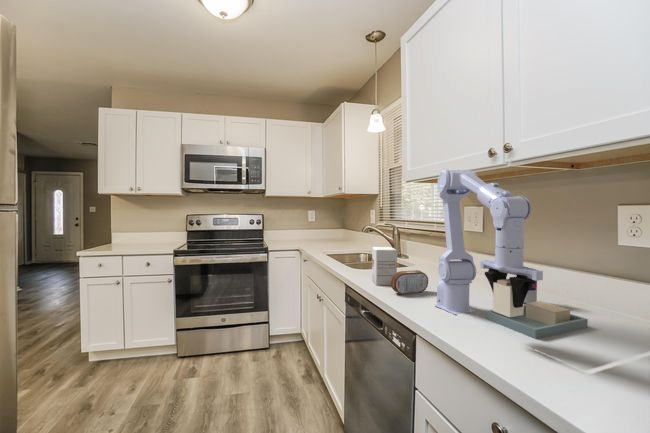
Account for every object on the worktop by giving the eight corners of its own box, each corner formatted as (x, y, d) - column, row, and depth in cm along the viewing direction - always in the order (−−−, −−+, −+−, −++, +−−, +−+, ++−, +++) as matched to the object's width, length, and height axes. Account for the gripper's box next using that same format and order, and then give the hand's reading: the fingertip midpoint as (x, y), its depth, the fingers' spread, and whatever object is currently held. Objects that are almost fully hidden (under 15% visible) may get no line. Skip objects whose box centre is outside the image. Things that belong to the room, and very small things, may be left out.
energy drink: (538, 308, 96) (539, 270, 96) (519, 306, 98) (519, 269, 98) (533, 303, 101) (534, 267, 101) (515, 301, 103) (516, 266, 103)
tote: (485, 320, 86) (486, 311, 85) (534, 312, 92) (534, 303, 92) (535, 341, 72) (535, 329, 72) (587, 329, 79) (587, 319, 79)
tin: (424, 290, 117) (424, 269, 117) (429, 292, 114) (429, 270, 114) (390, 293, 113) (390, 271, 112) (394, 296, 110) (395, 273, 109)
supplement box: (371, 280, 133) (371, 246, 133) (391, 280, 134) (391, 246, 133) (375, 285, 124) (375, 249, 124) (397, 285, 125) (397, 249, 124)
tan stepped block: (525, 316, 87) (525, 303, 87) (539, 314, 89) (540, 301, 89) (555, 327, 79) (555, 312, 79) (569, 324, 81) (570, 309, 81)
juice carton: (493, 311, 73) (493, 279, 73) (506, 308, 74) (506, 277, 74) (509, 317, 69) (510, 283, 69) (523, 314, 70) (524, 281, 70)
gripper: (471, 244, 77) (470, 296, 77) (527, 252, 63) (525, 316, 63) (492, 243, 79) (491, 294, 79) (550, 250, 65) (548, 312, 66)
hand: (508, 303), depth 72 cm, fingers closed on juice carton, 4 cm apart
